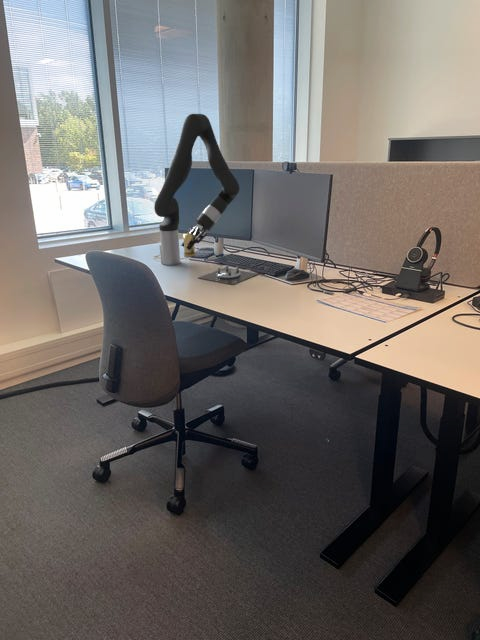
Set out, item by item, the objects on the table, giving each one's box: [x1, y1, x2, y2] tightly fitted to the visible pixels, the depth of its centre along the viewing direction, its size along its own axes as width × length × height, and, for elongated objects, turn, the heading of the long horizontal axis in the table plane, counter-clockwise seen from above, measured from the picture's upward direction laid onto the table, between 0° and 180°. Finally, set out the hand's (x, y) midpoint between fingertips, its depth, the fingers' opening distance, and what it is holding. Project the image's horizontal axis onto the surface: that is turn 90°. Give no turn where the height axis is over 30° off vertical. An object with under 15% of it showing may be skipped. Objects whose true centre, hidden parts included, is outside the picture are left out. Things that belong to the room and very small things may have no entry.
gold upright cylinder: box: [183, 232, 196, 258], centre depth 204 cm, size 5×5×10 cm
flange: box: [197, 264, 260, 286], centre depth 208 cm, size 20×20×4 cm
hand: (185, 247), depth 203 cm, fingers closed on gold upright cylinder, 4 cm apart
